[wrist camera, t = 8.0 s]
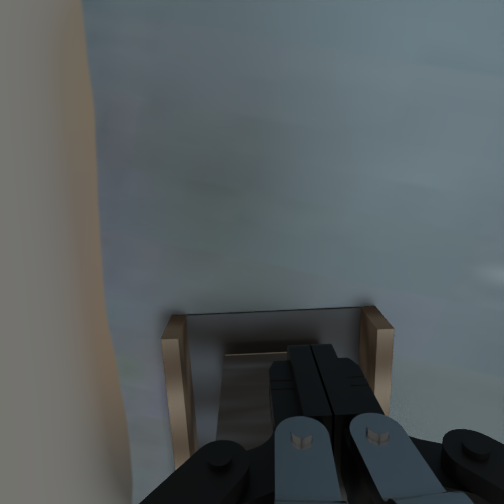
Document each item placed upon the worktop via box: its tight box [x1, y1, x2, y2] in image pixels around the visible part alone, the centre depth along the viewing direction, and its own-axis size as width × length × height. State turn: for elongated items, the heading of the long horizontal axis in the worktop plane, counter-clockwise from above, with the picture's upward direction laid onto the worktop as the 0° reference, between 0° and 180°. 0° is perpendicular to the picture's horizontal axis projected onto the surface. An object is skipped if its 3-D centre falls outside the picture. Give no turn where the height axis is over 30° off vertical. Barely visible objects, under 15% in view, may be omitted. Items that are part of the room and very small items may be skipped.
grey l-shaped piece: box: [216, 352, 347, 502], centre depth 24 cm, size 11×9×15 cm
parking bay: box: [161, 306, 394, 470], centre depth 30 cm, size 19×16×4 cm
